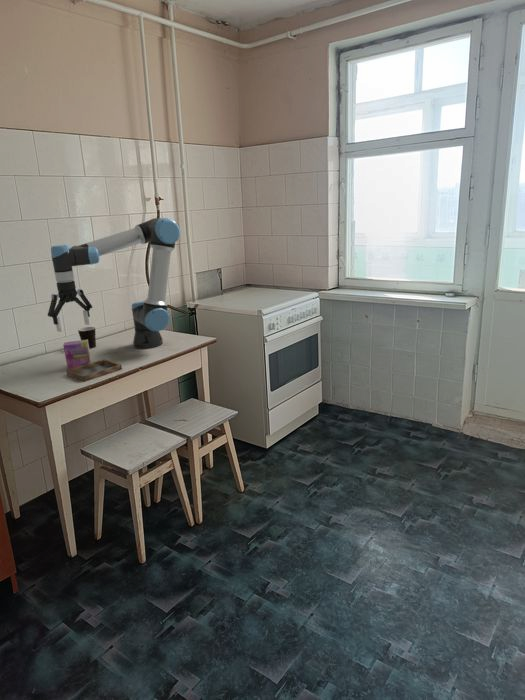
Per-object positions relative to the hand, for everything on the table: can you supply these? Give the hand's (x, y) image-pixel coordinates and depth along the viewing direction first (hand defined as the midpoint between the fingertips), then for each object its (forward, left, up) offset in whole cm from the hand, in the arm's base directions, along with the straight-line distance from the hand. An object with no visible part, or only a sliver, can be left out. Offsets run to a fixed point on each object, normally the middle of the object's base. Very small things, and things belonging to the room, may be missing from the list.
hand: (73, 327), depth 224 cm
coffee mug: (-21, -28, -19) cm, 40 cm away
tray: (0, +13, -18) cm, 23 cm away
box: (0, -1, -19) cm, 19 cm away
